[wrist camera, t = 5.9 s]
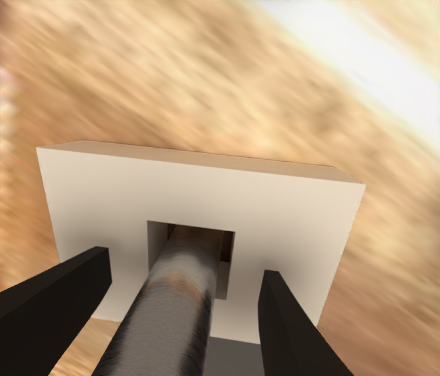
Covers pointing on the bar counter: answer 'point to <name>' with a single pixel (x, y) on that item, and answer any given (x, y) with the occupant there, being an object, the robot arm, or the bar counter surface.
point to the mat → (233, 358)
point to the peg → (170, 311)
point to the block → (201, 220)
